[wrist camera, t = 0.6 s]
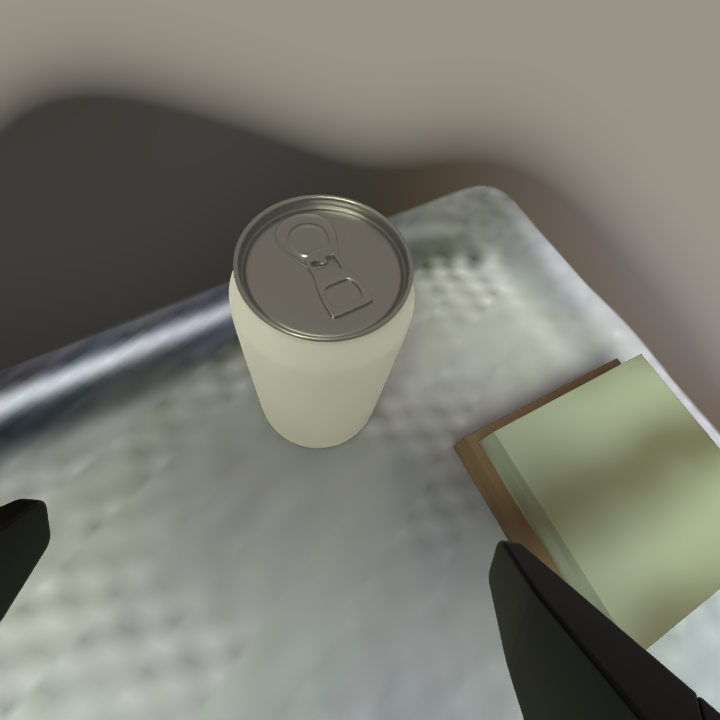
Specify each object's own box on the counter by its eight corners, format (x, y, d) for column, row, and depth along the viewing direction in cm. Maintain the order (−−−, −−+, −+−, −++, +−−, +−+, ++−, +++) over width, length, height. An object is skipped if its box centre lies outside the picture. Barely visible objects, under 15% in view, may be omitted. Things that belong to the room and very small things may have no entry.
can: (340, 327, 26) (362, 163, 15) (395, 416, 24) (467, 300, 13) (242, 372, 24) (185, 220, 13) (292, 472, 22) (275, 392, 11)
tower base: (725, 540, 23) (803, 537, 19) (576, 655, 20) (636, 678, 16) (596, 371, 26) (641, 342, 23) (453, 446, 23) (479, 426, 20)
